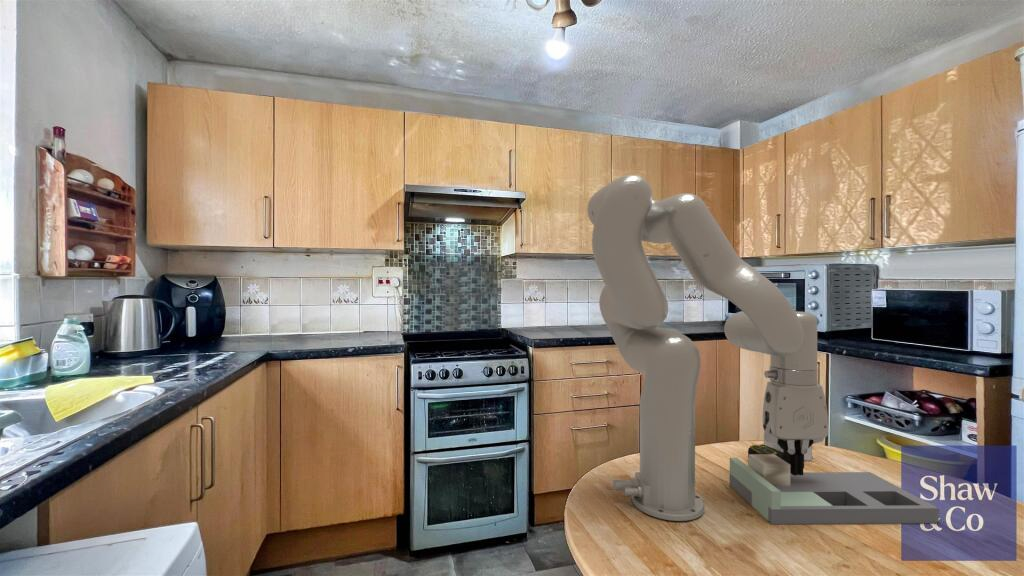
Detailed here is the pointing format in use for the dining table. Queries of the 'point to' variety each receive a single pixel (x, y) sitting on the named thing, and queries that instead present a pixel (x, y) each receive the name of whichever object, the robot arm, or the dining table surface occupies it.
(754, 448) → the tape measure
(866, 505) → the grey green slotted tray
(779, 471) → the block
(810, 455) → the medicine bottle
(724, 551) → the dining table surface
